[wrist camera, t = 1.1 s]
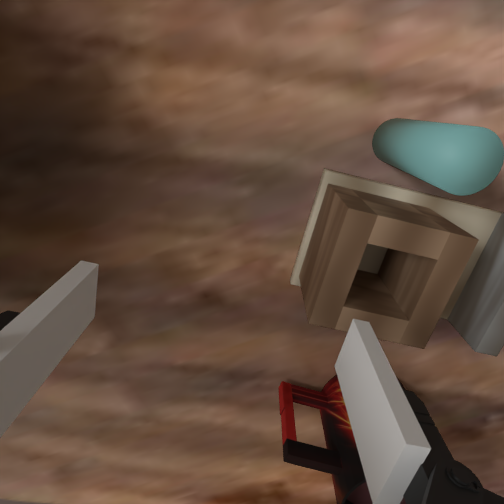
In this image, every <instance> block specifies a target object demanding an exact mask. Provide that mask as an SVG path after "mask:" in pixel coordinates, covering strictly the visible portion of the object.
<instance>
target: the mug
mask: <svg viewBox="0 0 504 504" xmlns="http://www.w3.org/2000/svg"><path fill="white" fill-rule="evenodd" d="M397 380H398V382H399V384H400V386H401V388H402V390H405V389H404V387H403V385H402V384H401V382H400V381H399V379H397ZM293 402H295V403H299V404H302V405H306V406H310V407H314V408H317V409H320V414H321V419H322V424H323V430H324V435H325V441H326V446H327V449H325V448H321V447H317V446H313V445H309V444H305V443H302V442H298V441H297V439H296V429H295V419H294V409H293ZM279 403H280V415H281V422H282V440H283V457H284V462H287V463H291V464H294V465H298V466H302V467H306V468H310V469H314V470H318V471H322V472H326V473H330V474H332V479H333V484H334V489H335V495H336V500H337V504H373V503H372V499H371V496H370V492H369V489H368V485H367V481H366V478H365V474H364V471H363V467H362V463H361V460H360V456H359V452H358V449H357V445H356V442H355V438H354V434H353V431H352V427H351V424H350V420H349V416H348V413H347V409H346V406H345V402H344V398H343V395H342V391H341V388H340V384H339V380H338V377H337V375H336V376H335V377H333V378H332V379H331V380H329V382H328V383H327V384H326V385H325V386H324V388H323V390H322V391H321V392H319V391H315V390H311V389H307V388H304V387H300V386H296V385H293V384H290V383H287V382H284V381H282V382H281V384H280V386H279ZM400 504H406V502H405V499H404V497H403V499H402V501H401V502H400Z"/></svg>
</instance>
